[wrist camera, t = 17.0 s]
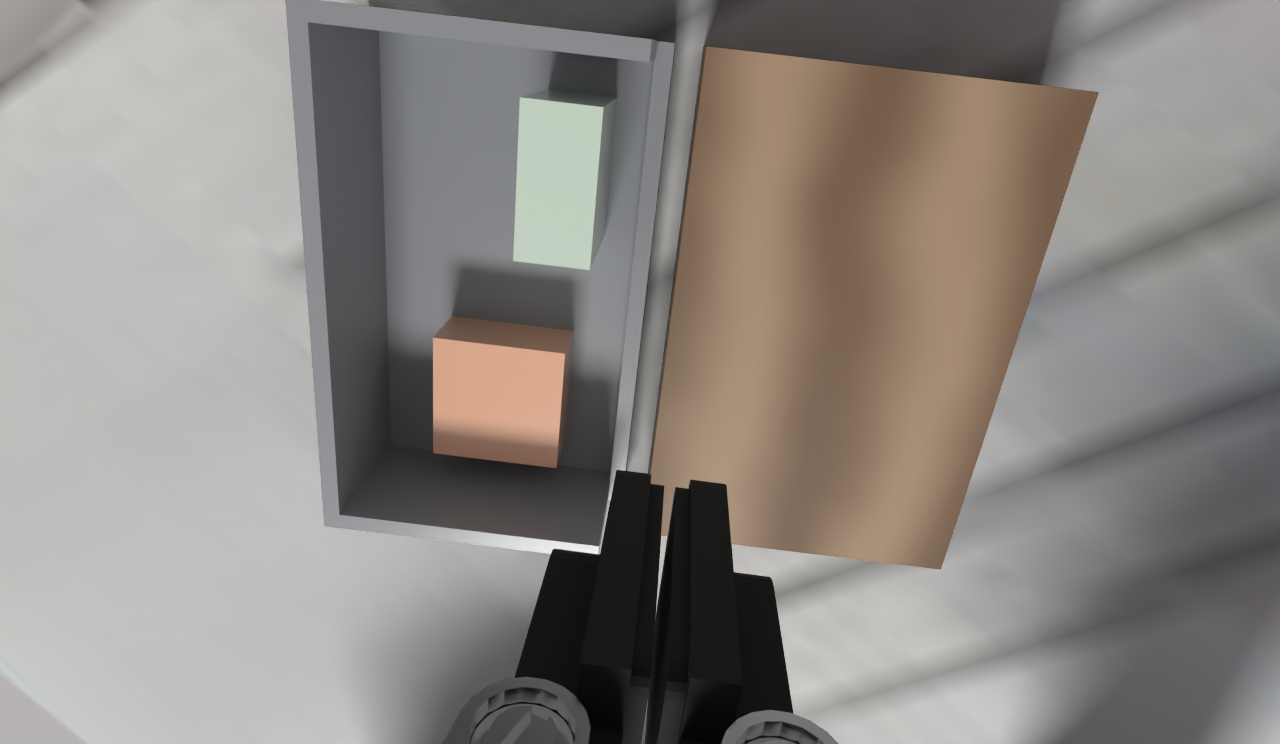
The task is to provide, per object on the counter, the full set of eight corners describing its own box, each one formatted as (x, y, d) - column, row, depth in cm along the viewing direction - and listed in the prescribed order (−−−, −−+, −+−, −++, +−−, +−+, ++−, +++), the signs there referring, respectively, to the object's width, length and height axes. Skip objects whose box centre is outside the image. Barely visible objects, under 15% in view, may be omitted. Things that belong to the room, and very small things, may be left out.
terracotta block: (432, 337, 28) (451, 316, 30) (433, 453, 30) (451, 424, 32) (564, 353, 28) (573, 330, 30) (556, 468, 30) (565, 438, 32)
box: (675, 43, 26) (673, 41, 21) (625, 477, 34) (613, 561, 28) (367, 7, 27) (285, -4, 21) (383, 448, 34) (324, 526, 28)
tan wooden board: (1041, 86, 26) (1098, 91, 23) (912, 512, 34) (940, 569, 30) (703, 46, 26) (706, 46, 23) (647, 480, 34) (642, 533, 30)
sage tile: (603, 107, 22) (519, 97, 22) (590, 270, 24) (513, 260, 24) (617, 97, 27) (548, 89, 27) (604, 234, 29) (540, 227, 29)
